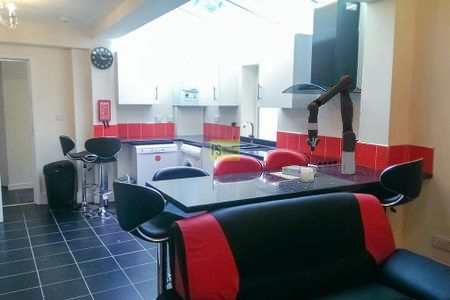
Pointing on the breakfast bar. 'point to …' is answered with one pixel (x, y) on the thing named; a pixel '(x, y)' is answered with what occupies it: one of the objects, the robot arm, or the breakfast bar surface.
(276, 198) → the breakfast bar surface
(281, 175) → the mat
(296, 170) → the snack box
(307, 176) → the mug
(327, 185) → the breakfast bar surface
